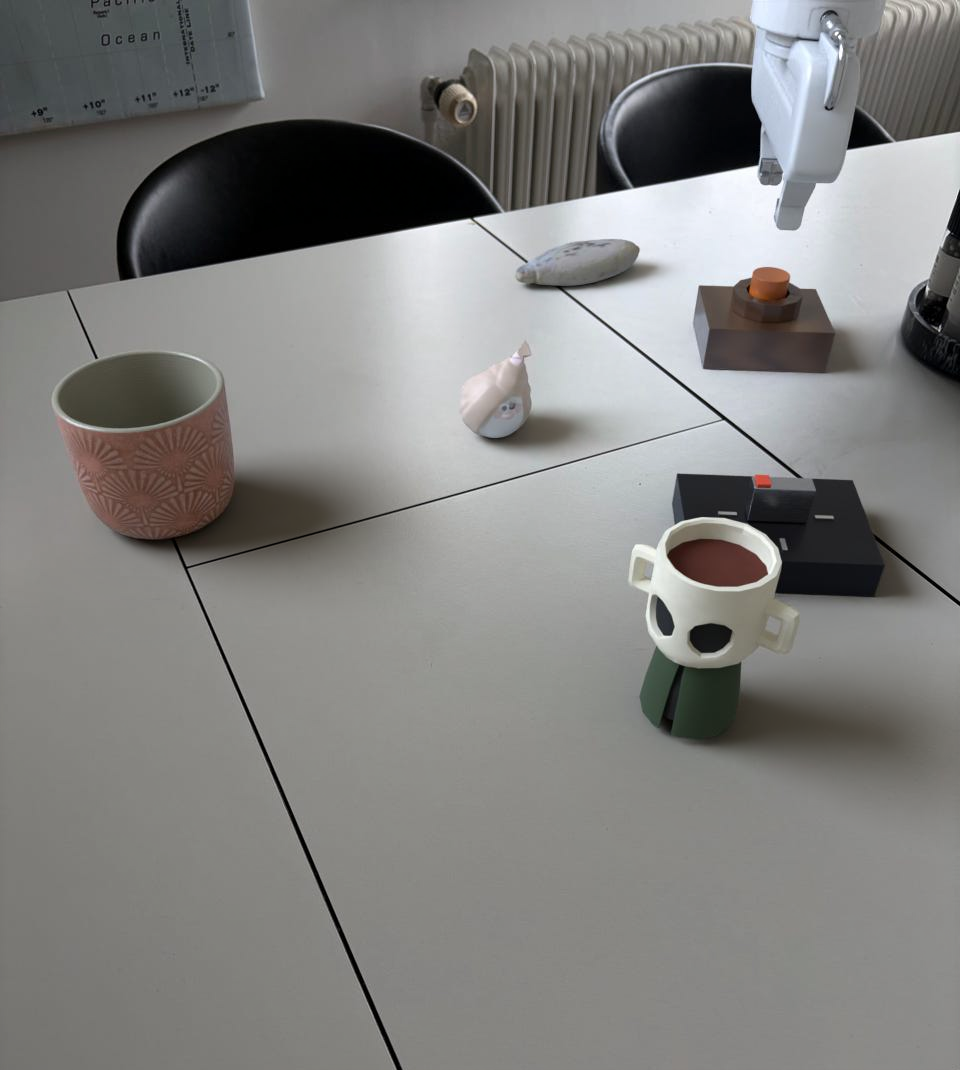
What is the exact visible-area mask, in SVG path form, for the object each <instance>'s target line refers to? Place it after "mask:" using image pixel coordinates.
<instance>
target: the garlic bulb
mask: <svg viewBox="0 0 960 1070" xmlns="http://www.w3.org/2000/svg"><path fill="white" fill-rule="evenodd" d="M531 356H533V354H532V351H531V348H530V346H529V343H528V342H527V339H524V340H523V342H522V343H521V344H520V345H519V347H518V349H517V350H516V352H514V354H513V355H509V356H507V357H506V358H505V359H504V360H503V361H501V362H500V361H499V362H496V363H493V364H492V365H491V366H490V367H488V368H486V369H484V370H482V371H480V372H478V373H477V374H474V375H472V376H470V377H469V378H468V379H466V381H465V382H464V384H463V386H462V387H461V389H460V392H459V399H458V400H459V401H458V402H459V404H458V405H459V406H458V407H459V408H458V409H459V414H460V417H461V421H462V422H463V424H464V425H465V426H466V427H467V428H468V429H469V430H470V431H471V432H472V433H473V434H475V435H478V436H482V437H485V438H486V437H487V438H492V439H498V438H499V439H500V438H504V437H507V436H509V435H511V434H513V433H515V431H517V430H519V429H520V428H521V427H522V426H523V425H524V424H525V423H526V421H527V420H528V418H529V416H530V413H531V410H532V404H533V403H532V397H531V393H532V390H531V385H530V383H529V375H528V371H527V366H526V363H525V358H528V357H531Z"/></svg>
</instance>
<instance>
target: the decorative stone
mask: <svg viewBox="0 0 960 1070" xmlns="http://www.w3.org/2000/svg"><path fill="white" fill-rule="evenodd" d="M640 251H641V248H640V246H639V245H637V244H636V243H634V242H633V241H631V240H627V239H620V238H601V239H590V240H589V239H588V240H576V241H571V242H568V243H564V244H561V245H558V246H555V247H552V248H551V249H548V250H546V251H543V252H542V253H540V254H539V255H536V256H534V257H533V258H531V259H530V260H529V261H527V263H526V264H522V265H521V266H519V267H518V268H517V269H516V270H515V274H514V275H515V276H514V277H515V281H517V282H519V283H523V284H532V283H533V284H536V285H542V286H557V287H558V286H561V287H573V286H582V285H587V284H592V283H597V282H601V281H604V280H607V279H610V278H613V277H615V276H618V275H620V274H622V273H624V272H625V271H627V270H629V269H630V268H631V267H632V266H633V265H634V264H635V262H636V261H637V259H638V257H639V254H640Z"/></svg>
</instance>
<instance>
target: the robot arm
mask: <svg viewBox="0 0 960 1070" xmlns="http://www.w3.org/2000/svg"><path fill="white" fill-rule="evenodd" d="M886 3H887V0H752V3H751V8H750V13H749V22H750V23H751V24H752V26H754V27H755V28H756V30H755V37H754V48H753V49H754V50H753V57H752V67H751V68H752V70H751V84H750V85H751V87H750V88H751V90H750V91H751V95H750V96H751V103H752V105H753V107H754V108H755V111H756V113H757V115H758V118H759V120H760V122H761V127H760V145H759V147H760V148H759V149H760V151H759V160H758V167H757V172H756V176H757V179H758V180H759V183H760V184H761V185H762V186H772V187H773V186H778V185H780V184H782V187H781V192H780V196H779V198H777V199H776V202H775V209H774V212H773V220H774V223H775V227H776V228H777V229H778V230H780V231H797V230H798V229H800V227H801V226H802V222H803V218H804V213H805V207H806V206H807V204H808V202H809V201H810V199H811V197H812V194H813V193H814V191H815V189H816V186H817V184H833V183H835V182H836V180H837V179H838V177H839V176H840V173H841V171H842V169H843V167H844V164H845V159H846V156H847V150H848V145H849V141H850V136H851V132H852V127H853V122H854V115H855V111H856V105H857V101H858V95H859V90H860V89H859V88H860V79H861V63H860V58H859V57H858V55H857V54H856V49H857V43H858V40H859V39H865V38H868V37H871V36H874V35H876V34H877V33H878V32H879V30H880V29H881V25H882V20H883V17H884V16H883V15H884V11H885V7H886ZM781 182H783V183H781Z"/></svg>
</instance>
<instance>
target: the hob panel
mask: <svg viewBox="0 0 960 1070" xmlns="http://www.w3.org/2000/svg"><path fill="white" fill-rule="evenodd" d="M752 476H753V475H731V474H729V475H728V474H705V473H703V474H702V473H680V472H679V473H678V472H677V473H676V477H675V483H674V489H673V496H672V501H671V506H672V514H673V520H674V525H676V524H677V523H679V522H681V521H686V520H691V519H695V518H700V517H708V518H726V519H730V520H734V521H737V522H741V523H745V524H748V525H750V526H751V527H753V528H755V529H757V530H759V531H760V532H762V533H764V534H766V535H767V536H768V538H769V539H770V540H771V541H772V542H773V543H774V544H775V545H776V546H777V547H778V550H779V554H780V557H781V561H782V566H781V572H780V575H779V579H778V583H777V587H776V591H775V594H797V595H798V594H799V595H819V596H822V595H823V596H846V597H871V598H874V597H875V595H876V593H877V590H878V587H879V584H880V581H881V578H882V575H883V572H884V570H885V567H886V563H885V561H884V558H883V556H882V553H881V550H880V548H879V545H878V543H877V540H876V537H875V534H874V532H873V530H872V527H871V524H870V522H869V519H868V517H867V514H866V512H865V511H866V510H865V509H864V506H863V503H862V501H861V498H860V496H859V493H858V490H857V487H856V485H855V483H854V480H853V479H835V478H833V479H832V478H809V479H812V480H813V483H814V486H815V489H816V492H815V496H814V500H813V503H812V507H811V511H810V514H809V518H808V522H807V523H793V522H768V521H748V520H747V516H746V512H745V506H746V501H747V497H748V492H749V488H750V483H751V479H752ZM782 477H783V476H782ZM783 478H786V477H783Z"/></svg>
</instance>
